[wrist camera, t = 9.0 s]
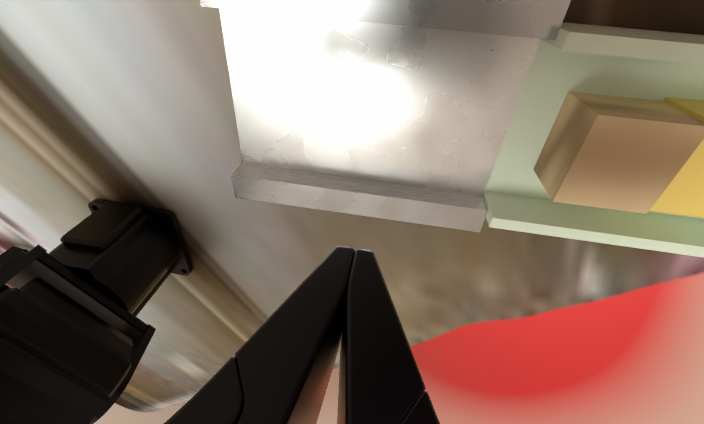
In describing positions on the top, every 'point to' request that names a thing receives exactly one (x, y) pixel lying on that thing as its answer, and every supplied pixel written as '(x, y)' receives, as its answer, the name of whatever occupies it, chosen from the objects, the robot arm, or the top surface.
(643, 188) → the oak chip
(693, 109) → the yellow block
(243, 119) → the slot board
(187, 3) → the top surface
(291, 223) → the top surface
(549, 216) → the tray
